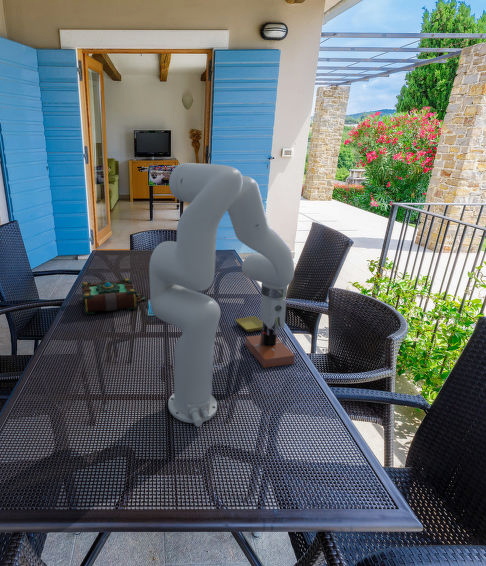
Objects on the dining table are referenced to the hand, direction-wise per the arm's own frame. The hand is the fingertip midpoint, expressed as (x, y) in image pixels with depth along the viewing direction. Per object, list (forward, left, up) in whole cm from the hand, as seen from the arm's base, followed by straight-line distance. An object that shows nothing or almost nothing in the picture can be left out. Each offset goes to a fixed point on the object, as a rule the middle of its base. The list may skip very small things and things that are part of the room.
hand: (267, 342), depth 121 cm
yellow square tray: (+17, -2, -4) cm, 17 cm away
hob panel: (-1, 0, -3) cm, 4 cm away
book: (+50, +44, -4) cm, 67 cm away
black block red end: (0, 0, 0) cm, 0 cm away
